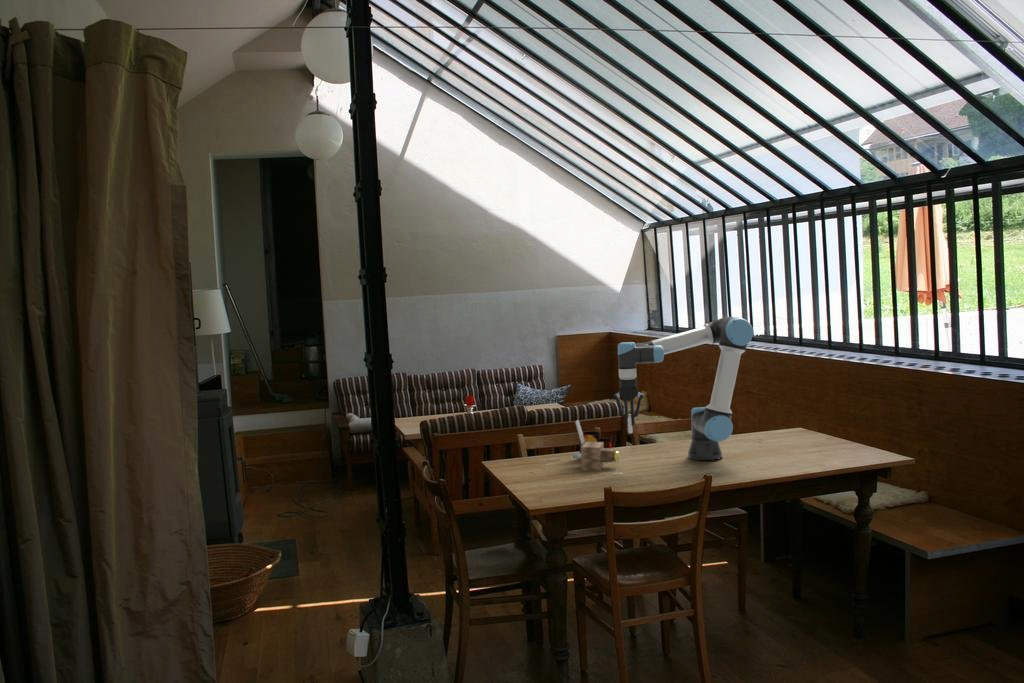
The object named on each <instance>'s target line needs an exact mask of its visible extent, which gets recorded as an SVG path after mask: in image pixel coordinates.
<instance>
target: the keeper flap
mask: <svg viewBox="0 0 1024 683" xmlns="http://www.w3.org/2000/svg"><path fill="white" fill-rule="evenodd" d="M574 423H575V426H576V430H577V432H578V433H577V434H578V438H579V437H580V440H581V444H582V443H584V442H585V440H584V437H583V433H582V432H583V430H582V426H581V422H580V420H579V419H577V420H576V421H575V422H574Z"/></svg>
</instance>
